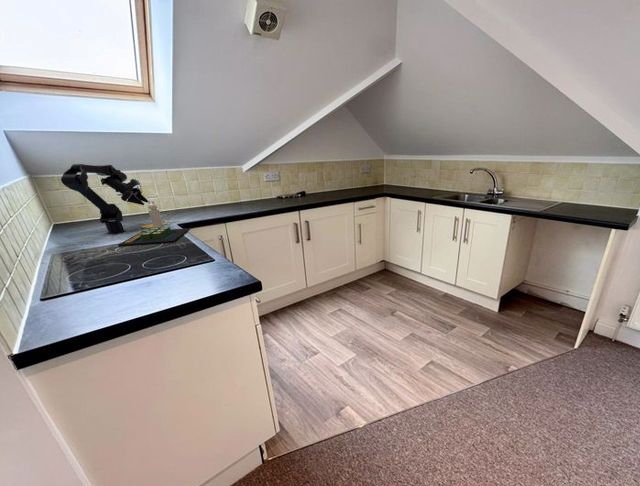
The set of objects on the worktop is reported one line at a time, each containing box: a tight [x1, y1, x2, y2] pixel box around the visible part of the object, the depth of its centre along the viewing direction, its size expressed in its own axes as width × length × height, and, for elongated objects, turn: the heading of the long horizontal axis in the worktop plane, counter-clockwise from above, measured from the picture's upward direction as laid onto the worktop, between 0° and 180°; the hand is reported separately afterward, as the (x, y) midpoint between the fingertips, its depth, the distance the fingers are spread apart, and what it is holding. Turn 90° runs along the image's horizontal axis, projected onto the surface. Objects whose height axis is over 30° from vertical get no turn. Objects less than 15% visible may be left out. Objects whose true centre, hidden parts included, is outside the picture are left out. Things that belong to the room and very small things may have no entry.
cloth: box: [140, 222, 169, 229], centre depth 185 cm, size 12×8×1 cm, turn 154°
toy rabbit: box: [147, 199, 165, 228], centre depth 175 cm, size 5×5×17 cm
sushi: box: [117, 226, 191, 247], centre depth 160 cm, size 25×25×4 cm
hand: (146, 203), depth 180 cm, fingers open, 9 cm apart
